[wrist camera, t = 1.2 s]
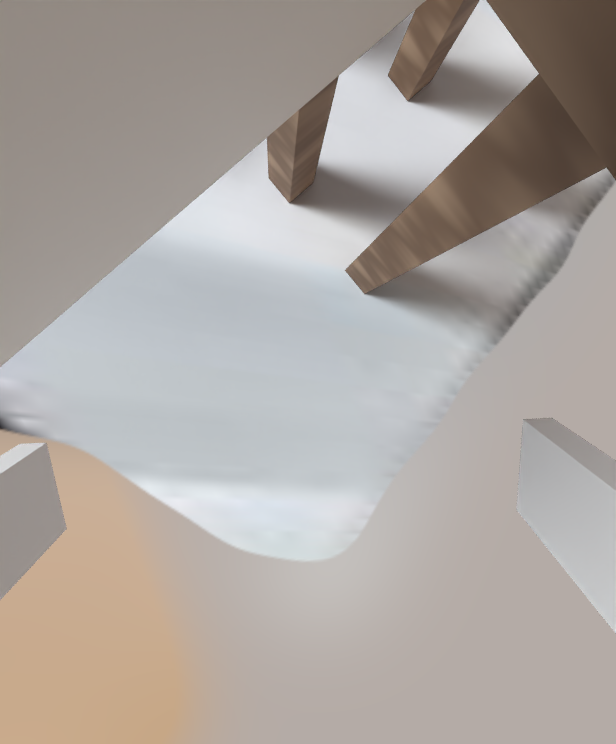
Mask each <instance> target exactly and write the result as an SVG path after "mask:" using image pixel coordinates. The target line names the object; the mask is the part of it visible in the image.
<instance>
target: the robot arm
mask: <svg viewBox="0 0 616 744" xmlns="http://www.w3.org/2000/svg"><path fill="white" fill-rule="evenodd" d="M517 511H518V512H519V514H520V515H521V516H522V517H523V519H525V521H526V522H527V524H528V525H529V526H530V527H531V528H532V530H533V531H534V532H535V533H536V535H537V536H538V537H539V539H540V540H541V541H542V542H543V544H544V545H545V546H546V547H547V549H548V550H549V551H550V552H551V554H552V555H553V556H554V557H555V559H556V560H557V561H558V562H559V564H560V565H561V566H562V567H563V569H564V570H565V571H566V572H567V573H568V575H569V576H570V577H571V578H572V580H573V581H574V582H575V583H576V585H577V586H578V587H579V588H580V590H581V591H582V592H583V593H584V595H585V596H586V597H587V598H588V600H589V601H590V602H591V603H592V605H593V606H594V607H595V608H596V610H597V611H598V612H599V613H600V615H601V616H602V617H603V618H604V620H605V621H606V622H607V623H608V624H609V626H610V627H611V628H612V630H613V631H614V632H615V633H616V460H614V459H612V458H611V457H609V456H608V455H607V454H605V453H604V452H602V451H601V450H599V449H598V448H596V447H595V446H593V445H592V444H590V443H589V442H587V441H586V440H584V439H583V438H581V437H580V436H578V435H577V434H575V433H574V432H572V431H571V430H569V429H568V428H566V427H565V426H563V425H562V424H560V423H559V422H557V421H556V420H554V419H553V418H540V419H523V427H522V442H521V455H520V469H519V483H518V496H517ZM65 530H66V524H65V520H64V515H63V511H62V507H61V503H60V498H59V494H58V490H57V486H56V481H55V477H54V473H53V469H52V465H51V460H50V456H49V452H48V447H47V443H30V444H19V445H18V446H16V447H14V448H13V449H11V450H9V451H8V452H6V453H4V454H3V455H1V456H0V600H1V599H2V598H3V597H4V595H5V594H6V593H7V592H8V591H9V590H10V589H11V588H12V587H13V586H14V585H15V584H16V583H17V582H18V580H19V579H20V578H21V577H22V576H23V575H24V574H25V573H26V572H27V571H28V570H29V568H31V566H32V565H33V564H34V563H35V562H36V561H37V560H38V559H39V558H40V557H41V556H42V555H43V554H44V552H45V551H46V550H47V549H48V548H49V547H50V546H51V545H52V544H53V543H54V542H55V541H56V539H57V538H58V537H59V536H60V535H61V534H62V533H63V532H64V531H65Z"/></svg>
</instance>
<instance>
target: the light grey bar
mask: <svg viewBox="0 0 616 744" xmlns="http://www.w3.org/2000/svg"><path fill="white" fill-rule="evenodd" d="M425 1H426V0H0V367H1V366H2V365H3V364H4V363H6V362H7V361H8V360H9V359H10V358H11V357H13V356H14V355H15V354H16V353H17V352H18V351H20V350H21V349H22V348H23V347H24V346H25V345H27V344H28V343H29V342H30V341H31V340H32V339H33V338H35V337H36V336H37V335H38V334H39V333H40V332H42V331H43V330H44V329H45V328H46V327H47V326H49V325H50V324H51V323H52V322H53V321H54V320H56V319H57V318H58V317H59V316H60V315H61V314H63V313H64V312H65V311H66V310H67V309H68V308H69V307H71V306H72V305H73V304H74V303H75V302H76V301H78V300H79V299H80V298H81V297H82V296H83V295H85V294H86V293H87V292H88V291H89V290H90V289H92V288H93V287H94V286H95V285H96V284H97V283H98V282H100V281H101V280H102V279H103V278H104V277H105V276H107V275H108V274H109V273H110V272H111V271H112V270H114V269H115V268H116V267H117V266H118V265H119V264H121V263H122V262H123V261H124V260H125V259H126V258H127V257H129V256H130V255H131V254H132V253H133V252H134V251H136V250H137V249H138V248H139V247H140V246H141V245H143V244H144V243H145V242H146V241H147V240H148V239H150V238H151V237H152V236H153V235H154V234H155V233H157V232H158V231H159V230H160V229H161V228H162V227H163V226H165V225H166V224H167V223H168V222H169V221H170V220H172V219H173V218H174V217H175V216H176V215H177V214H179V213H180V212H181V211H182V210H183V209H184V208H186V207H187V206H188V205H189V204H190V203H191V202H192V201H194V200H195V199H196V198H197V197H198V196H199V195H201V194H202V193H203V192H204V191H205V190H206V189H208V188H209V187H210V186H211V185H212V184H213V183H215V182H216V181H217V180H218V179H219V178H220V177H222V176H223V175H224V174H225V173H226V172H227V171H228V170H230V169H231V168H232V167H233V166H234V165H235V164H237V163H238V162H239V161H240V160H241V159H242V158H244V157H245V156H246V155H247V154H248V153H249V152H251V151H252V150H253V149H254V148H255V147H256V146H257V145H259V144H260V143H261V142H262V141H263V140H264V139H266V138H267V137H268V136H269V135H270V134H271V133H273V132H274V131H275V130H276V129H277V128H278V127H280V126H281V125H282V124H283V123H284V122H285V121H287V120H288V119H289V118H290V117H291V116H292V115H293V114H295V113H296V112H297V111H298V110H299V109H300V108H302V107H303V106H304V105H305V104H306V103H307V102H309V101H310V100H311V99H312V98H313V97H314V96H316V95H317V94H318V93H319V92H320V91H321V90H322V89H324V88H325V87H326V86H327V85H328V84H329V83H331V82H332V81H333V80H334V79H335V78H336V77H338V76H339V75H340V74H341V73H342V72H343V71H345V70H346V69H347V68H348V67H349V66H350V65H351V64H353V63H354V62H355V61H356V60H357V59H358V58H360V57H361V56H362V55H363V54H364V53H365V52H367V51H368V50H369V49H370V48H371V47H372V46H374V45H375V44H376V43H377V42H378V41H379V40H381V39H382V38H383V37H384V36H385V35H386V34H387V33H389V32H390V31H391V30H392V29H393V28H394V27H396V26H397V25H398V24H399V23H400V22H401V21H403V20H404V19H405V18H406V17H407V16H408V15H410V14H411V13H412V12H413V11H414V10H415V9H416V8H418V7H419V6H420V5H421V4H422V3H423V2H425Z"/></svg>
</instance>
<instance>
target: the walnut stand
mask: <svg viewBox="0 0 616 744" xmlns="http://www.w3.org/2000/svg"><path fill="white" fill-rule="evenodd" d="M478 2H479V0H426V1H425V2H423V3H422V4H421V5H420V6H419V7H418V8H416V10H415V12H414V15H413V17H412V20H411V22H410V24H409V27H408V29H407V31H406V34H405V36H404V38H403V41H402V43H401V46H400V48H399V50H398V53H397V55H396V57H395V60H394V62H393V64H392V67H391V69H390V71H389V74H388V76H389V77H390V79H391V80H392V81H393V83H394V84H395V85H396V86H397V88H398V89H399V90H400V92H401V93H402V94H403V96H404V97H405V98H406V100H407V101H408V100H410V99H411V98H412V97H413V96H414V95H415V94H416V93H418V92H419V91H420V90H421V89H422V88H423V87H425V86H426V85H427V84H428V83H429V82H430V81H431V80H432V79H433V77H434V75H435V74H436V72H437V70H438V69H439V67H440V65H441V64H442V62H443V60H444V59H445V57H446V55H447V54H448V52H449V50H450V49H451V47H452V45H453V44H454V42H455V40H456V39H457V37H458V35H459V34H460V32H461V30H462V29H463V27H464V25H465V24H466V22H467V20H468V19H469V17H470V15H471V14H472V12H473V10H474V9H475V7H476V5H477V4H478ZM487 2H488V3H489V5H490V6H491V7H492V9H493V10H494V12H495V13H496V14H497V16H498V17H499V18H500V20H501V21H502V23H503V24H504V25H505V27H506V28H507V30H508V31H509V32H510V34H511V35H512V37H513V38H514V39H515V41H516V42H517V43H518V45H519V46H520V48H521V49H522V50H523V52H524V53H525V55H526V56H527V57H528V59H529V60H530V62H531V63H532V64H533V66H534V67H535V69H536V70H537V71H538V73H539V74H538V75H537V76H536V77H535V79H534V80H533V81H532V82H531V83H530V84H529V85H528V86H527V87H526V88H525V89H524V90H523V91H522V92H521V93H520V94H519V95H518V96H517V97H516V98H515V99H514V100H513V101H512V102H511V103H510V104H509V105H508V106H507V107H506V108H505V109H504V110H503V111H502V112H501V113H500V114H499V115H498V116H497V117H496V118H495V119H494V120H493V121H492V122H491V123H490V124H489V125H488V126H487V127H486V128H485V129H484V130H483V131H482V132H481V133H480V134H479V135H478V136H477V137H476V138H475V139H474V140H473V141H472V142H471V143H470V144H469V145H468V146H467V147H466V148H465V149H464V150H463V151H462V152H461V153H460V154H459V155H458V156H457V157H456V158H455V159H454V160H453V161H452V162H451V164H450V165H449V166H448V167H447V168H446V169H445V170H444V171H443V172H442V173H441V174H440V175H439V176H438V177H437V178H436V179H435V180H434V181H433V182H432V183H431V184H430V185H429V186H428V187H427V188H426V189H425V190H424V191H423V192H422V193H421V194H420V195H419V196H418V197H417V198H416V199H415V200H414V201H413V202H412V203H411V204H410V205H409V206H408V207H407V208H406V209H405V210H404V211H403V212H402V213H401V214H400V215H399V216H398V217H397V218H396V219H395V220H394V221H393V222H392V223H391V224H390V225H389V226H388V227H387V228H386V229H385V230H384V231H383V232H382V233H381V234H380V235H379V236H378V237H377V238H376V239H375V240H374V241H373V242H372V243H371V244H370V245H369V246H368V247H367V248H366V250H365V251H364V252H363V253H362V254H361V255H360V256H359V257H358V258H357V259H356V260H355V261H354V262H353V263H352V264H351V265H350V266H349V267H348V268H347V269H346V270H345V271H346V272H347V273H348V275H349V276H350V277H351V278H352V279H353V281H354V282H355V283H356V284H357V285H358V287H359V288H360V289H361V290H362V291H363V293H364V294H365V293H367V292H369V291H371V290H373V289H375V288H377V287H379V286H381V285H383V284H385V283H387V282H388V281H390V280H392V279H394V278H396V277H398V276H400V275H402V274H404V273H406V272H408V271H409V270H411V269H413V268H415V267H417V266H419V265H421V264H423V263H425V262H427V261H429V260H431V259H432V258H434V257H436V256H438V255H440V254H442V253H444V252H446V251H448V250H450V249H452V248H453V247H455V246H457V245H459V244H461V243H463V242H465V241H467V240H469V239H471V238H473V237H474V236H476V235H478V234H480V233H482V232H484V231H486V230H488V229H490V228H492V227H494V226H496V225H497V224H499V223H501V222H503V221H505V220H507V219H509V218H511V217H513V216H515V215H517V214H518V213H520V212H522V211H524V210H526V209H528V208H530V207H532V206H534V205H536V204H538V203H540V202H541V201H543V200H545V199H547V198H549V197H551V196H553V195H555V194H557V193H559V192H561V191H562V190H564V189H566V188H568V187H570V186H572V185H574V184H576V183H578V182H580V181H582V180H584V179H585V178H587V177H589V176H591V175H593V174H595V173H597V172H599V171H601V170H603V169H605V168H606V167H607V169H608V170H609V171H610V173H611V174H612V176H613V177H614V178H615V180H616V0H487ZM338 77H339V76H338ZM338 77H336V78H335V79H334V80H333V81H332V82H331V83H329V84H328V85H327V86H326V87H325V88H324V89H322V90H321V91H320V92H319V93H318V94H317V95H316V96H314V97H313V98H312V99H311V100H310V101H309V102H307V103H306V104H305V105H304V106H303V107H302V108H300V109H299V110H298V111H297V112H296V113H295V114H293V115H292V116H291V117H290V118H289V119H288V120H287V121H285V122H284V123H283V124H282V125H281V126H280V127H278V128H277V129H276V130H275V131H274V132H273V133H271V134H270V135H269V136H268V137H267V149H268V173H269V179H270V180H271V181H272V183H273V184H274V185H275V186H276V188H277V189H278V190H279V191H280V192H281V194H282V195H283V196H284V197H285V198H286V200H287V201H288V202H289V203H290V202H291V201H293V200H294V199H295V198H296V197H297V196H298V195H300V194H301V193H302V192H303V191H304V190H305V189H307V188H308V187H309V186H310V185H311V184H312V183H313V181H314V177H315V173H316V169H317V165H318V160H319V156H320V152H321V148H322V144H323V139H324V135H325V131H326V127H327V123H328V119H329V114H330V110H331V106H332V102H333V98H334V93H335V89H336V85H337V81H338Z"/></svg>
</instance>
